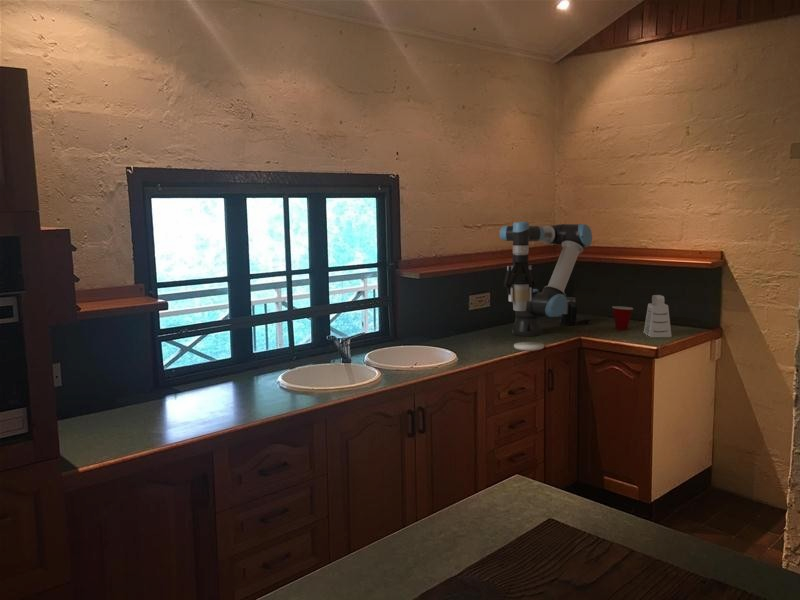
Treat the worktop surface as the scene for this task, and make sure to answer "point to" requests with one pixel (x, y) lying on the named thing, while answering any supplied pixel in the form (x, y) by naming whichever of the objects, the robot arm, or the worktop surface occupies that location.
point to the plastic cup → (622, 316)
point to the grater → (657, 318)
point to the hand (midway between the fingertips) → (519, 301)
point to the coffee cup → (520, 294)
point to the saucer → (529, 346)
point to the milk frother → (570, 313)
